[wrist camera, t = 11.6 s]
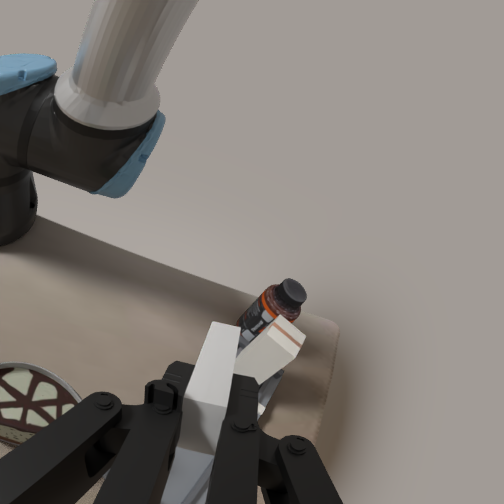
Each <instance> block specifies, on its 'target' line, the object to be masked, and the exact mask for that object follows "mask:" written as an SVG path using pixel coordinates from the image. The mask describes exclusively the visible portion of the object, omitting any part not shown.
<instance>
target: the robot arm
mask: <svg viewBox="0 0 504 504" xmlns="http://www.w3.org/2000/svg"><path fill="white" fill-rule="evenodd" d="M198 1H199V0H94V3H93V5H92V9H91V11H90V14H89V17H88V20H87V23H86V26H85V29H84V32H83V35H82V39H81V42H80V45H79V49H78V53H77V57H76V60H75V64H74V66H73V67H71V68H69V69H68V70H66V71H65V72H64V73H63V74H62V75H61V76H60V77H58V76H55V75H54V74H55V73H56V71H57V64H56V61H55V60H54V59H51V58H50V57H48V56H44V55H38V54H10V55H4V56H0V246H1V245H5V244H8V243H11V242H13V241H15V240H17V239H19V238H20V237H22V236H23V235H24V234H25V233H26V232H27V231H28V230H29V229H30V228H31V226H32V225H33V223H34V221H35V218H36V212H37V204H38V202H37V201H38V200H37V193H36V188H35V183H34V178H33V172H36V173H39V174H42V175H44V176H47V177H50V178H52V179H55V180H58V181H60V182H63V183H66V184H68V185H71V186H74V187H76V188H79V189H82V190H85V191H87V192H89V193H91V194H100V195H103V196H107V197H110V198H119V197H122V196H124V195H125V194H126V193H127V192H128V191H129V190H130V189H131V187H132V186H133V184H134V183H135V181H136V180H137V178H138V176H139V175H140V173H141V171H142V170H143V168H144V166H145V163H146V160H147V159H148V157H149V156H150V154H151V152H152V151H153V149H154V147H155V145H156V143H157V141H158V139H159V137H160V134H161V132H162V130H163V127H164V124H165V116H164V114H163V113H161V112H160V111H159V110H158V108H159V105H160V95H159V91H158V89H157V87H156V86H155V84H154V83H155V81H156V79H157V77H158V75H159V72H160V70H161V68H162V66H163V64H164V62H165V60H166V58H167V56H168V54H169V52H170V50H171V49H172V47H173V45H174V43H175V41H176V39H177V37H178V35H179V34H180V32H181V30H182V28H183V26H184V25H185V23H186V21H187V19H188V18H189V16H190V14H191V12H192V11H193V9H194V7H195V6H196V4H197V2H198ZM32 171H33V172H32ZM240 330H241V327H237V326H232V325H227V324H223V323H219V322H214V321H212V324H211V326H210V329H209V331H208V334H207V337H206V339H205V342H204V345H203V347H202V350H201V352H200V355H199V358H198V360H197V363H196V365H192V364H188V363H184V362H180V361H175V362H173V363H172V364H170V365H169V366H168V368H167V370H166V372H165V374H164V376H163V378H162V380H153V381H151V382H148V383H147V384H146V385H145V400H144V404H142V405H124V404H122V403H121V401H120V399H119V398H118V397H117V396H115V395H114V394H111V393H109V392H95V393H93V394H91V395H89V396H88V397H86V398H85V399H83V400H82V401H81V402H79V403H78V404H77V405H75V406H74V407H72V408H71V409H70V410H68V411H67V412H66V413H64V414H63V415H61V416H60V417H59V418H57V419H56V420H54V421H53V422H52V423H50V424H49V425H47V426H46V427H45V428H43V429H42V430H40V431H39V432H38V433H36V434H35V435H33V436H32V437H31V438H29V439H28V440H26V441H25V442H23V443H22V444H21V445H19V446H18V447H16V448H15V449H14V450H12V451H11V452H9V453H8V454H6V455H5V456H4V457H2V458H1V459H0V504H75V503H76V502H77V501H78V500H79V499H80V498H81V497H82V496H83V495H84V494H85V493H86V492H87V491H88V490H89V489H90V488H91V487H92V486H93V485H94V484H95V483H96V482H97V481H98V480H99V479H100V478H101V477H102V476H103V475H104V474H105V473H106V472H107V471H108V470H109V469H110V468H111V469H110V471H109V473H108V474H107V476H106V478H105V480H104V482H103V484H102V486H101V488H100V490H99V492H98V494H97V496H96V498H95V501H94V503H93V504H160V502H161V499H162V496H163V493H164V490H165V486H166V483H167V480H168V477H169V474H170V471H171V467H172V464H173V461H174V458H175V451H176V447H179V448H183V449H187V450H191V451H195V452H199V453H204V454H208V455H213V456H215V457H214V461H213V466H212V470H211V474H210V481H209V486H208V491H207V496H206V502H205V504H257V486H260V487H261V491H262V494H263V498H264V501H265V504H343V502H342V500H341V499H340V497H339V495H338V493H337V491H336V489H335V487H334V485H333V483H332V481H331V479H330V477H329V475H328V473H327V471H326V469H325V467H324V465H323V463H322V461H321V459H320V457H319V455H318V453H317V451H316V449H315V447H314V445H313V444H312V443H311V441H309V440H308V439H306V438H304V437H301V436H296V435H290V436H285V437H284V438H282V439H281V440H279V439H276V438H273V437H271V436H269V435H267V434H266V433H264V432H263V431H262V430H261V429H260V428H259V425H258V422H257V418H258V393H259V384H258V383H257V381H256V379H255V377H249V376H244V375H239V374H234V373H233V370H234V365H235V359H236V353H237V347H238V342H239V336H240ZM177 444H178V445H177Z"/></svg>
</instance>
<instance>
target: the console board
mask: <svg viewBox="0 0 504 504" xmlns="http://www.w3.org/2000/svg"><path fill="white" fill-rule="evenodd" d="M249 344H250V342H248V341H247V340H246V339H245V338H244V337H242V336H241V335H240V336H239V342H238V347H237V349H238V348H239V347H241V348H242V349H244V348H245V347H246V346H248V345H249ZM283 373H284V371H283V370H282V369H280V370H279V371H277V372H276V373H275V374H273V375H272V376H271V377H269V378H268V379H267V380H265V381H264V382H263V383H261V384H260V385H259V393H258V418H257V421H258V419H259V417H260V415H262V413H263V412H264V410H265V407H266V405H267V403H268V401H269V400H270V398H271V396H272V394H273V393H274V391H275V389H276V387H277V385H278V384H279V382H280V380H281V378H282V375H283ZM177 445H178V444H177ZM214 457H215V456H213V455H208V454H204V453H199V452H195V451H191V450H187V449H183V448H179V447H176V451H175V458H174V461H173V464H172V467H171V471H170V474H169V477H168V480H167V483H166V486H165V490H164V493H163V496H162V499H161V502H160V504H205V502H206V496H207V491H208V486H209V481H210V474H211V470H212V466H213V461H214ZM110 469H111V468H110ZM110 469H109V470H108V471H107V472H106V473H105V474H104V475H103V476H102V477H103V478H104V479H105V478H106V476H107V474H108V473H109V471H110Z"/></svg>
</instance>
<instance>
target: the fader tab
mask: <svg viewBox="0 0 504 504" xmlns="http://www.w3.org/2000/svg"><path fill="white" fill-rule="evenodd" d="M305 338H306V336H305V335H304V334H303V333H302V332H301V331H299V330H298V329H297V328H296V327H295V326H294V325H292V324H291V323H290V322H289V321H288V320H286V319H285V318H284V317H283V316H282V315H281V314H280V315H279V316H278V317H277V318H276V319H275V320H274V321H273V322H271V323H270V324H269V325H268V326H267V327H266V328H265V329H264V330H263V331H262V332H261V333H260V334H259V335H258V336H257V337H256V338H255V339H254V340H253V341H252V342H251V343H250V344H249V345H248V346H246V347H245V348H244V349H242V348H241V347H239V348H238V349H237V353H236V359H235V365H234V370H233V373H234V374H239V375H244V376H249V377H255V379H256V381H257V383H258V384H259V385H260V384H261V383H263V382H264V381H265V380H267V379H268V378H269V377H271V376H272V375H273V374H275V373H276V372H277V371H279V370H280V369H281V368H283V367H284V366H285V365H287V364H288V363H289V362H291V361H292V360H293V359H294V358H296V356H297V354H298V352H299V350H300V349H301V347H302V344H303V342H304V340H305Z"/></svg>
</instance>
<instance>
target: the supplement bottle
mask: <svg viewBox="0 0 504 504" xmlns="http://www.w3.org/2000/svg"><path fill="white" fill-rule="evenodd" d="M306 298H307V294H306V292H305V289H304V288H303V287H302V285H301V284H300V283H298V282H297V281H295V280H293V279H290V278H288V279H285V280H284V281H283V282H282V283H281V284H280V285H271V286H270V287H268V288H267V289H266V290H265V291H264V292H263V293H262V294H261V295H260V296H259V298H258V299H257V300H256V301H255V302H254V303H253V304H252V305H251V306H250V307H249V308H248V309H247V311H246V312H245V313H244V314H243V315H242V316H241V317H240V318H239V320H238V321H237V327H241V330H240V335H241V336H242V337H244V338H245V339H246V340H247V341H248V342H250V343H251V342H252V341H253V340H254V339H255V338H256V337H257V336H258V335H259V334H260V333H261V332H262V331H263V330H264V329H265V328H266V327H267V326H268V325H269V324H270V323H271V322H273V321H274V320H275V319H276V318H277V317H278V316H279V315H280V314H281V315H282V316H283V317H284V318H285V319H286V320H288V321H289V322H290V323H292V322H293V321H294V320H295V319H297V318H298V316H299V315H300V312H301V305H302V303H304V302H305V300H306Z"/></svg>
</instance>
